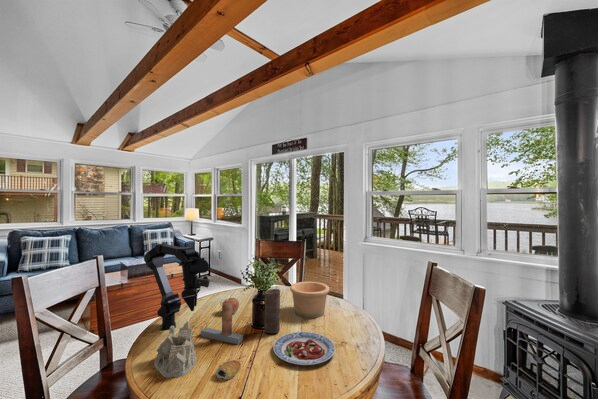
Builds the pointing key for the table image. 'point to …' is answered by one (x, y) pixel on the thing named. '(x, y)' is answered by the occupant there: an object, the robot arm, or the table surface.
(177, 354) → the grey castle model
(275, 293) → the candle
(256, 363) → the table surface
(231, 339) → the ridge
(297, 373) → the table surface
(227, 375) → the pastry
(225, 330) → the rod
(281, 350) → the ceramic plate
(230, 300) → the apple
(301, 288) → the pottery
